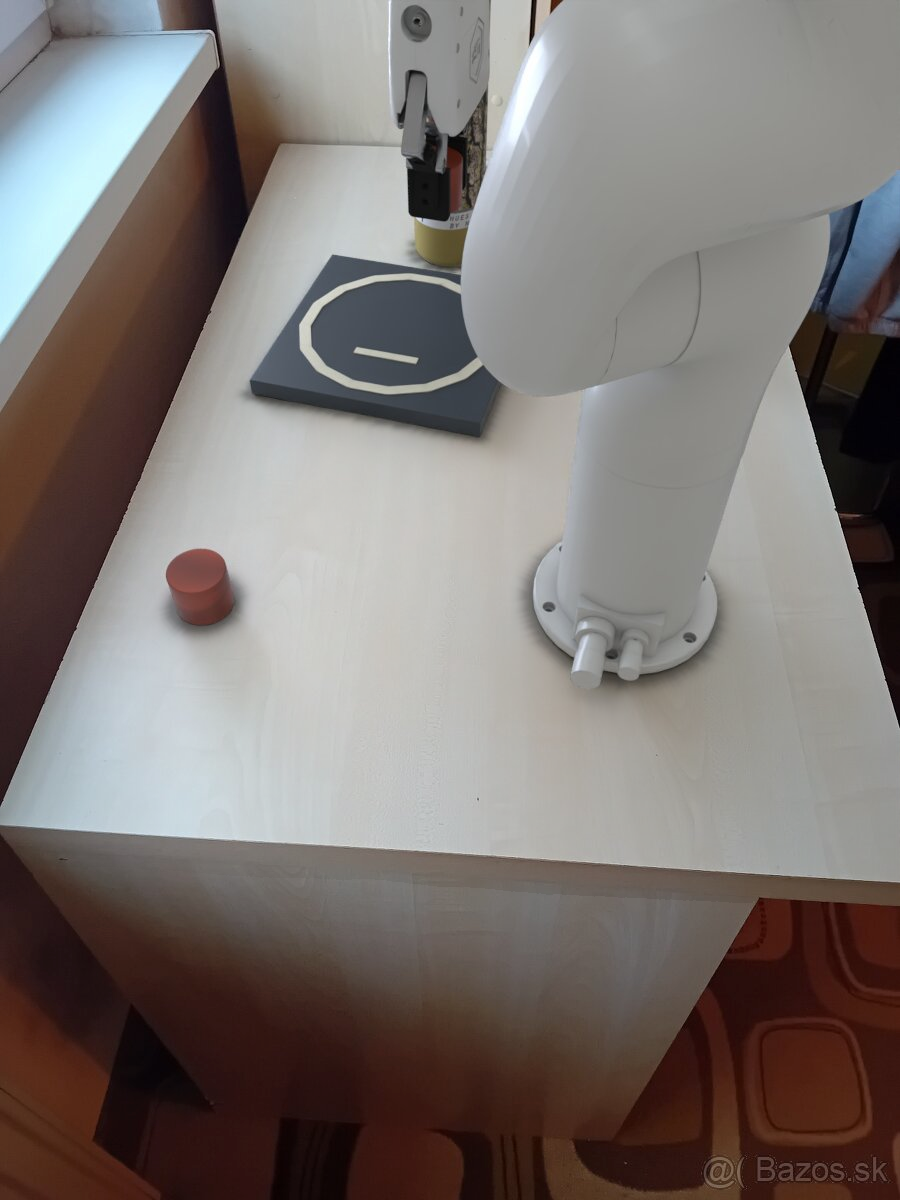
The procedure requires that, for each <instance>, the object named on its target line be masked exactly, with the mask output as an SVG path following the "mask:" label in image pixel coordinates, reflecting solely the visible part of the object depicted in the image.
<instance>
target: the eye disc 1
mask: <svg viewBox="0 0 900 1200" xmlns="http://www.w3.org/2000/svg"><path fill="white" fill-rule="evenodd" d="M230 578H231V577H230V574H229V571H228V568H227V563H226V561H225V559H224V557H223V556H222V555H221V554H219V553H218V552H217V551H216V550H212V549H209V548H193V549H188V550H186V551H183V552H181V553H179V554H178V555H176V556H175V557H173V558H172V560H171V561H170V562H169V564H168V565H167V567H166V570H165V579H166V582H167V585H168V588H169V591H170V594H171V597H172V600H173V602H174V605H175V608H176V611H177V614H178V615H179V616H180V618H181V619H182V620H183V621H185V622H187V623H189V624H192V625H195V626H207V625H212V624H216V623H218V622H219V621H221V620H223V619H224V618H226V617H227V616H228V615H229V614H230V613H231V611H232V610H233V608H234V605H235V601H236V600H235V593H234V590H233V585H232V583H231V582H232V581H231V579H230Z"/></svg>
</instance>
